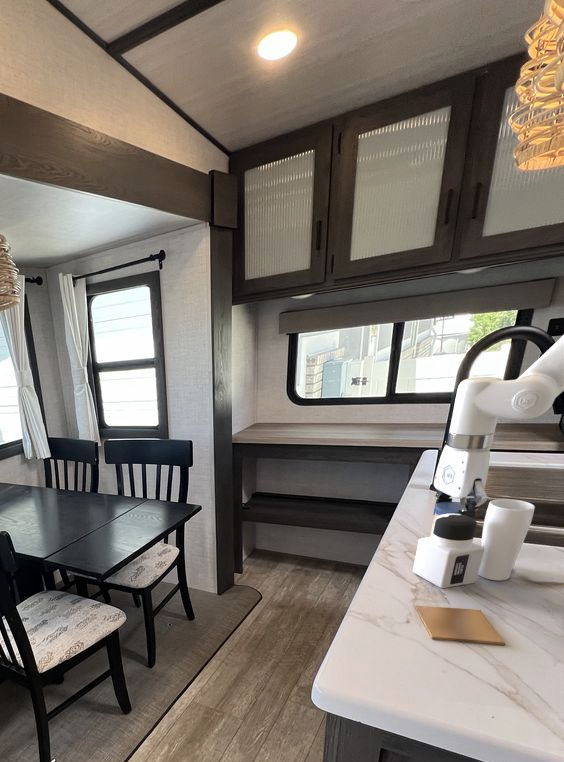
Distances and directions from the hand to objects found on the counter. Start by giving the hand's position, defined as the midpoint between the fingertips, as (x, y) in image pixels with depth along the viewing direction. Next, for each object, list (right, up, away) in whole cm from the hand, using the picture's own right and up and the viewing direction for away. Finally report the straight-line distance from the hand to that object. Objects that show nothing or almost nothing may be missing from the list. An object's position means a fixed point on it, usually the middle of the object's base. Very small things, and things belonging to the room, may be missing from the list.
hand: (451, 520), depth 104 cm
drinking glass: (0, -12, -11) cm, 16 cm away
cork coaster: (-17, -19, -24) cm, 35 cm away
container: (-9, -12, -10) cm, 18 cm away
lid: (0, +3, -1) cm, 3 cm away
